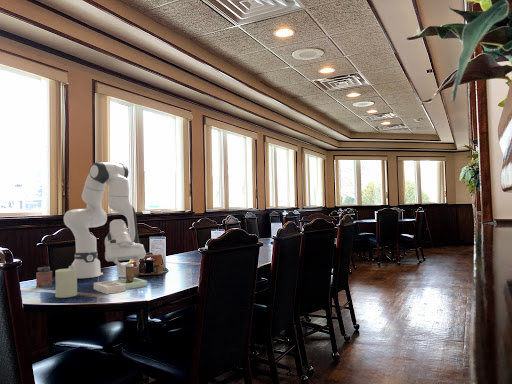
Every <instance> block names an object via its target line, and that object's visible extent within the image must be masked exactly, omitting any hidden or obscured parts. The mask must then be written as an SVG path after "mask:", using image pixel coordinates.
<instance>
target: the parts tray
mask: <svg viewBox="0 0 512 384" xmlns="http://www.w3.org/2000/svg"><path fill="white" fill-rule="evenodd" d="M113 281H115V282H118V283H122V284H125V283H126V278H122V279H115V280H113ZM147 286H148V280H145V279H141V278H137V277H133V283H126V284H125V290H130V289H136V288H143V287H144V288H145V287H147Z"/></svg>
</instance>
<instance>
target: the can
mask: <svg viewBox="0 0 512 384" xmlns="http://www.w3.org/2000/svg"><path fill="white" fill-rule="evenodd" d="M77 295H78V278H77V269H75V268H69V267H68V268H59V269H56V270H55V295H54V296H55V298H61V299H65V298H71V297H72V298H73V297H76V296H77Z"/></svg>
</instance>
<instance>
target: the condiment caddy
mask: <svg viewBox="0 0 512 384" xmlns="http://www.w3.org/2000/svg"><path fill="white" fill-rule="evenodd" d="M149 257H151V258H153V259H155V262H154V263H153V266H154V267H155V272H151V273H139V272H138V275H139V276H145V275H162V274H164V264H163V256H162V254H161V253H159V254H146V256H145V257H144V258H143V260H144V259H146V258H149ZM161 264H162V265H161ZM144 265H146V263H144Z"/></svg>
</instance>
